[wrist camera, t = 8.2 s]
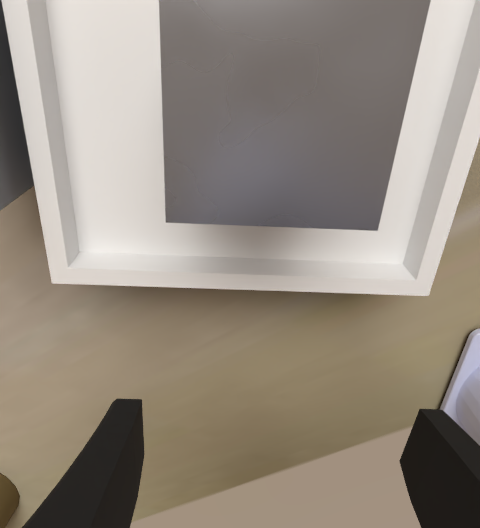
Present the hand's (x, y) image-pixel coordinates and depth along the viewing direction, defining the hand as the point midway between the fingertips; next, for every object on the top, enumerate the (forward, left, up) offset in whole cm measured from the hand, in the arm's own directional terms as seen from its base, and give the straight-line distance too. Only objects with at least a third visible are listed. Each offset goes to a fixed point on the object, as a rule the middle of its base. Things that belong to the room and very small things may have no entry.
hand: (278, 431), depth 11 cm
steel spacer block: (+1, -8, -6) cm, 10 cm away
